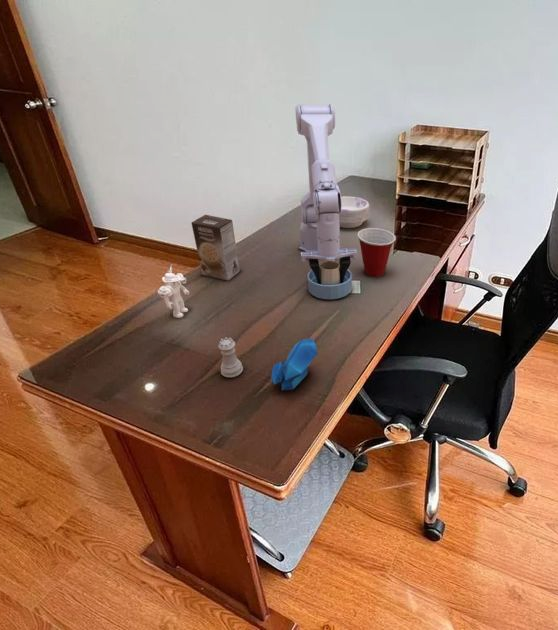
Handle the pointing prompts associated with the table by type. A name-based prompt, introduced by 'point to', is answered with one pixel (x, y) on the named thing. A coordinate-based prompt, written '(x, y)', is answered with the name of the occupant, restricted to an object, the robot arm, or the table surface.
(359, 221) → the paper bowls
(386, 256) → the plastic cup
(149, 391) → the table surface
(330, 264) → the cup
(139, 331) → the table surface
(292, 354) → the crystal
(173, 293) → the flower shoulder figurine
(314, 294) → the bowl
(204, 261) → the coffee box
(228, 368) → the rook chess piece
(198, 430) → the table surface
